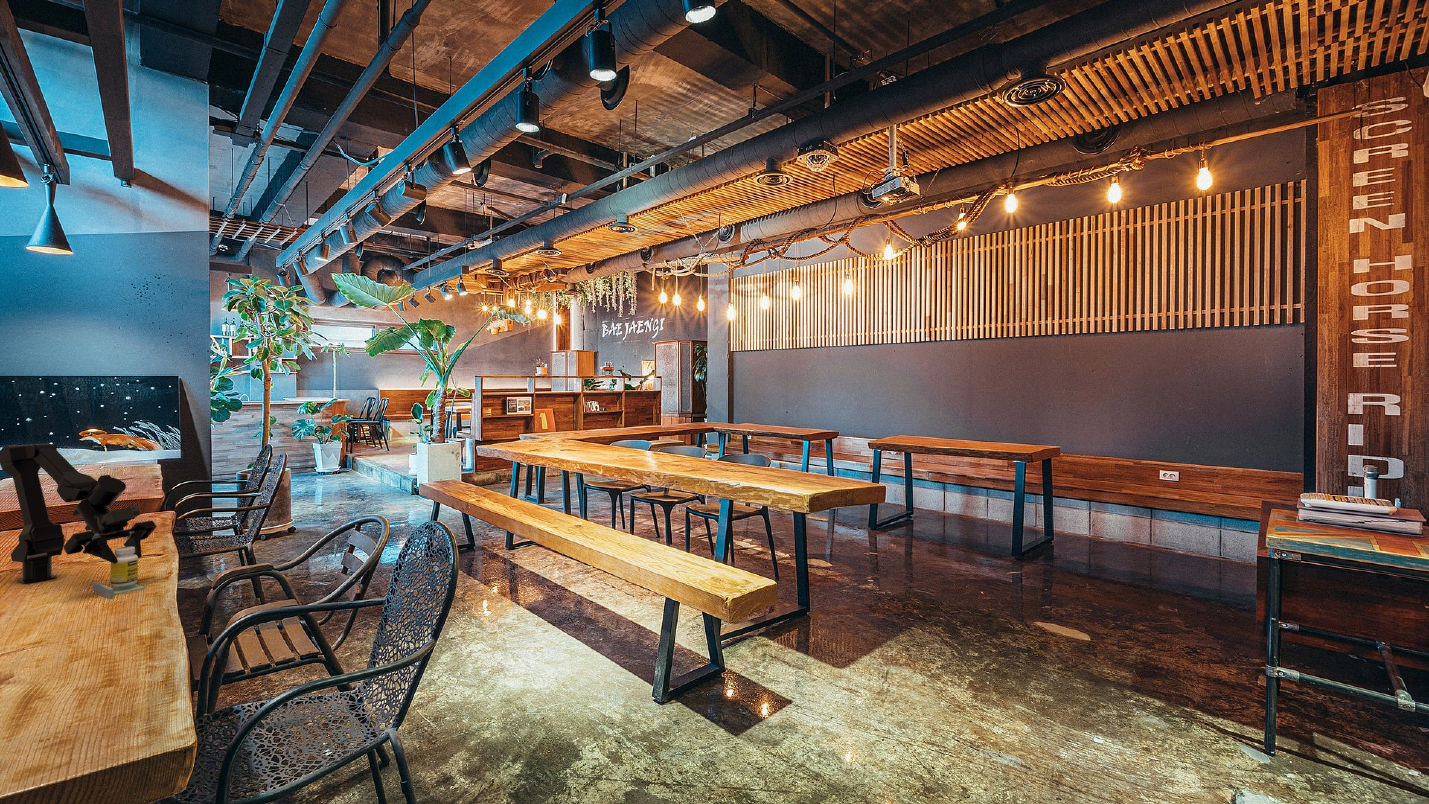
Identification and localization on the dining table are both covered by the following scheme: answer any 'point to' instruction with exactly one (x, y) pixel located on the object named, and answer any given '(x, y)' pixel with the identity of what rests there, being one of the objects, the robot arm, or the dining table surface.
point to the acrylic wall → (103, 590)
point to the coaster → (127, 588)
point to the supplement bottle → (124, 567)
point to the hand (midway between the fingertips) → (128, 559)
